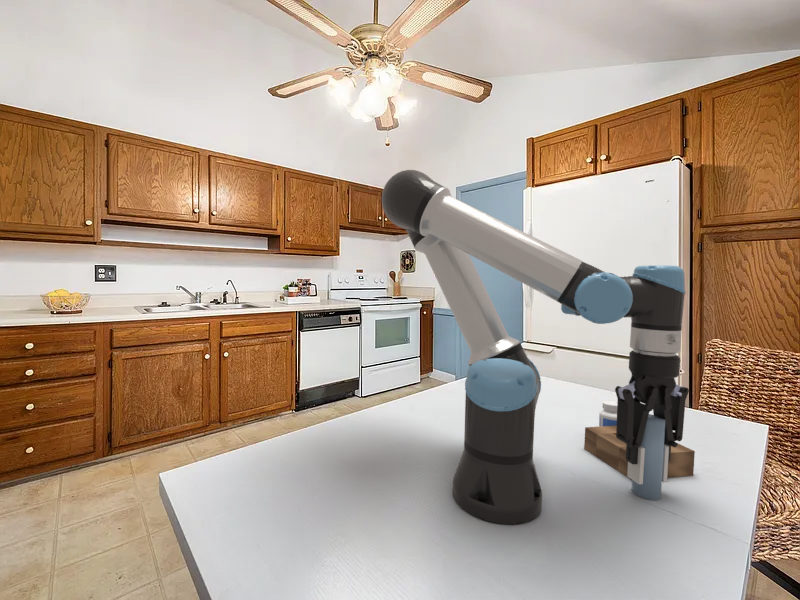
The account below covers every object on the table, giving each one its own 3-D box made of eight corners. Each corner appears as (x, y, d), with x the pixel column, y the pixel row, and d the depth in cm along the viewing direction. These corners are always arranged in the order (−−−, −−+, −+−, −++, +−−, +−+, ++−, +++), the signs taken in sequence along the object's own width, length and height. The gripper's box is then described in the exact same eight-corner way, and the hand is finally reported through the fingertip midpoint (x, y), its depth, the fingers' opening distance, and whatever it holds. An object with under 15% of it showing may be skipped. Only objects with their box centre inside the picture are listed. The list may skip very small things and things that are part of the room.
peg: (645, 501, 65) (650, 422, 64) (626, 487, 69) (630, 413, 68) (667, 499, 66) (671, 421, 65) (646, 485, 70) (650, 412, 69)
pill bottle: (630, 447, 87) (630, 406, 87) (609, 448, 86) (609, 406, 86) (613, 438, 93) (614, 399, 93) (594, 439, 92) (594, 400, 92)
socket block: (633, 480, 71) (634, 455, 71) (584, 448, 85) (585, 427, 85) (693, 475, 74) (694, 451, 74) (636, 444, 88) (637, 424, 88)
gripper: (629, 357, 61) (621, 494, 62) (715, 355, 64) (706, 486, 65) (596, 348, 68) (590, 472, 69) (675, 347, 71) (668, 465, 73)
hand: (646, 478), depth 67 cm, fingers closed on peg, 4 cm apart
